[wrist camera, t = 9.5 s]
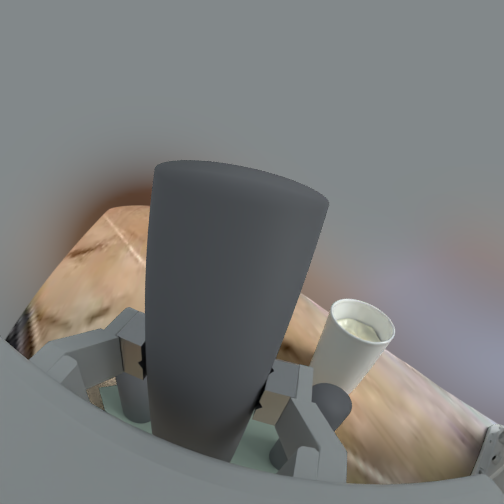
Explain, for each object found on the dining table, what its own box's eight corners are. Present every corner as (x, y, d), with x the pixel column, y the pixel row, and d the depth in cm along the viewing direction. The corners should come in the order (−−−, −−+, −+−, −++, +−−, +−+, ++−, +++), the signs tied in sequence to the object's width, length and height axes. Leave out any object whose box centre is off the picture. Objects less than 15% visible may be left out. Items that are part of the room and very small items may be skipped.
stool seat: (102, 399, 28) (82, 314, 22) (238, 367, 40) (260, 288, 34) (167, 546, 14) (158, 537, 8) (325, 472, 25) (388, 410, 19)
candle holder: (321, 408, 35) (359, 349, 30) (291, 361, 43) (317, 300, 38) (370, 391, 39) (407, 335, 34) (339, 352, 47) (366, 296, 42)
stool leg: (195, 414, 15) (241, 162, 9) (244, 459, 13) (355, 204, 7) (140, 445, 12) (125, 160, 6) (189, 499, 10) (248, 219, 4)
